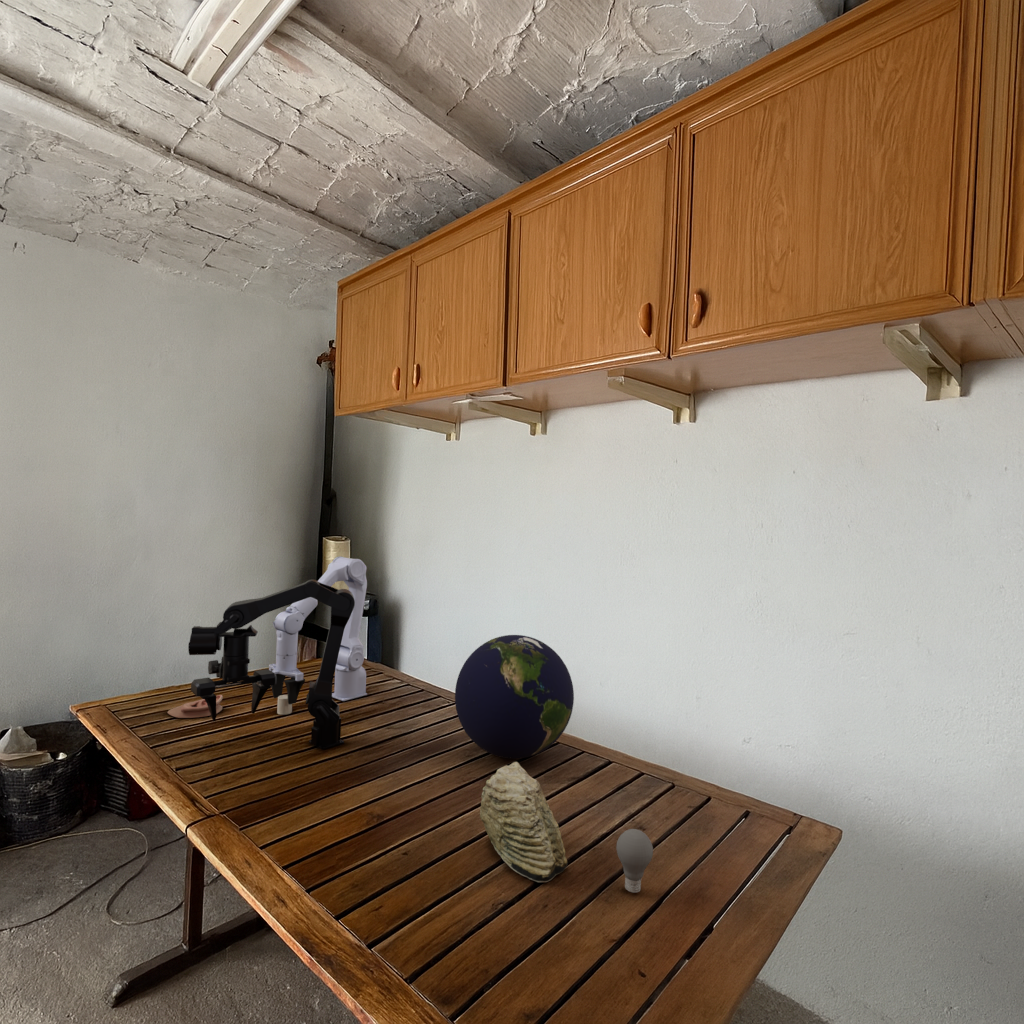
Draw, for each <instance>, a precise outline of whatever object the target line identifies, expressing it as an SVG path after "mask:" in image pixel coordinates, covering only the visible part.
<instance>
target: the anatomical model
mask: <svg viewBox="0 0 1024 1024" xmlns="http://www.w3.org/2000/svg"><path fill="white" fill-rule="evenodd" d="M223 698H224V696H223V695H222V694H219V695H218V694H217V695H216V714H218V713H220V712H221V711H222V710H223V706H222V705H221V702H222V700H223ZM167 714H168V715H170V716H172V717H174V718H179V719H194V718H203V717H204V718H205V717H208V716H211V714H210V711H209V708H208V705H207V703H206V701H205V699H202V698H201V699H198V700H195V701H191V702H186V703H183V704H182V705H181V704H180V705H178V706H175V707H173V708H171V709H169V710H168V711H167Z"/></svg>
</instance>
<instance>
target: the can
mask: <svg viewBox="0 0 1024 1024" xmlns="http://www.w3.org/2000/svg"><path fill="white" fill-rule="evenodd" d="M276 707H277V708H276V714H278V715H281V716H285V715H290V714H292V713H293V704H288V694H282V695H280V696H278V698H277V705H276Z"/></svg>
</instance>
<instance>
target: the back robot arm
mask: <svg viewBox="0 0 1024 1024" xmlns="http://www.w3.org/2000/svg"><path fill="white" fill-rule="evenodd" d="M367 568H368V567H367V565H366V564H365V562H364V561H363V560H361V559H360V558H351V557H345V556H341V555H339V556H337V557H335V558H334V559H333V560H332V562H330V563H329V564H328V565H327V569H326V570H325V572H324V573H322V575H321V576H320V577H319V579H318V580H317V581H318V582H320V583H322V584H325V585H328V586H331V587H333V585H335V584H336V583H338V582H343V583H345V585H346V586H347V588H348V590H349V591H350V592H351V593H352V594H353V596H354V601H355V606H354V609H353V611H352V613H351V616H350V618H349V620H348V622H347V624H346V626H345V629H344V633H343V637H342V641H341V646H340V650H339V655H338V659H337V663H336V668H335V672H334V691H333V692H332V699H336V700H339V701H341V702H346V701H350V700H353V699H358V698H361V697H364V696H368V693H367V692H366V691H367V671H366V668H364V667H363V664H364V660H365V655H364V644H363V643H362V641H361V639H360V632H361V627H362V620H363V614H364V607H365V601H366V595H367V587H368V580H367ZM318 602H319V601H318V600H316V599H314V598H312V597H309V598H306V599H303V600H301V601H298V602H295V603H292V604H289V605H288V606H287V607H286V608H285V611H284V610H283V611H281V612H279V613H278V614H277V615H276V617H275V619H274V621H272V625H273V628H274V629H275V632H276V634H275V635H276V646H275V648H276V649H275V651H276V652H275V663H270V664H269V665H268V670H270V671H272V672H273V673H275V674H276V677H277V682H276V684H275V685H270V686H271V688H270V689H271V691H272V692H271V693H272V697H273V699H278V696H280V695H283V691H284V690H283V688H284V684H285V687H286V692H287V693H286V695H288V704H292V705H294V704H297V701H298V697H299V694H300V691H301V689H302V687H303V686H304V684H305V683H306V679H305V678H304V672H302V671H301V670H300V669H299V668H297V665H298V664H297V663H298V644H299V643H298V640H299V639H298V638H299V632H300V631H301V630H302V628H303V624H304V621H305V620H306V619H307V617H308V616H309V615H310V614H311V613H312V612H313V611H314V610H315V608H316V607H317V606H318ZM286 677H288V678H289V679H286Z"/></svg>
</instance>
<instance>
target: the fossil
mask: <svg viewBox="0 0 1024 1024" xmlns="http://www.w3.org/2000/svg"><path fill="white" fill-rule="evenodd" d="M479 819H480V820H481V822H482V823H483V827H484V829H485V832H486V833H487V836H488V838H489V840H490V842H491V844H492V845H493V848H494V850H495V852H496V853H497V854H498V856H500V858H501V859H502V861H503V862H504V863H505V864H506V865H507V867H509V868H510V869H511V870H513V871H514V873H517V874H519V875H520V876H522V877H525V878H527V879H528V880H531V881H533V882H536V883H548V882H550V881H552V880H553V879H554V878H555V877H556V876H557V875H560V874H561V873H563V872H564V871H565V870H566V868H567V867H568V866H569V863H568V859H567V856H566V848H565V847H564V841H563V838H562V834H561V831H560V826H559V824H558V822H557V821H556V818H555V817H554V813H553V811H552V810H551V807H550V805H549V803H548V802H547V799H546V796H545V794H544V790H543V789H542V786H541V784H540V781H539V780H537V779H535V778H533V777H532V776H531V775H529V773H528V772H527V771H526V769H524V768H523V766H521V764H520V763H519V762H518V761H513V762H512V763H511V764H509V765H507V764H506V765H504V766H502V767H500V768H498V769H497V770H496V772H495V773H494V774H492V775H491V776H490V778H489V779H487V780H486V782H485V786H483V788H482V792H481V802H480V808H479Z"/></svg>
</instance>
